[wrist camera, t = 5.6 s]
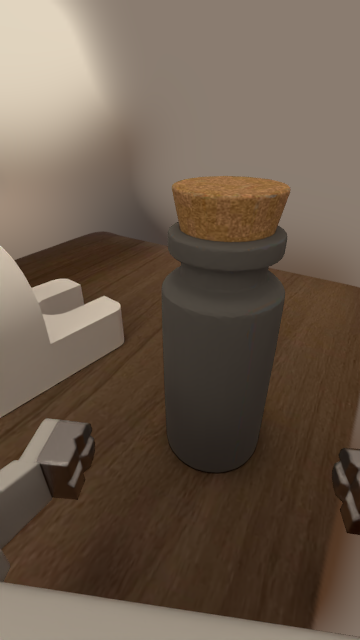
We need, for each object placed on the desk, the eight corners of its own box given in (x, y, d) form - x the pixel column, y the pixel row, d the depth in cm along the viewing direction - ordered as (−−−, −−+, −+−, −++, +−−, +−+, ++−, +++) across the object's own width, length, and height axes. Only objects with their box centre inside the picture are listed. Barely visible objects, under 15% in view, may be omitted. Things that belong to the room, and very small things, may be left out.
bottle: (216, 387, 24) (233, 170, 16) (277, 441, 20) (338, 186, 12) (149, 423, 21) (131, 181, 14) (204, 494, 17) (223, 206, 9)
